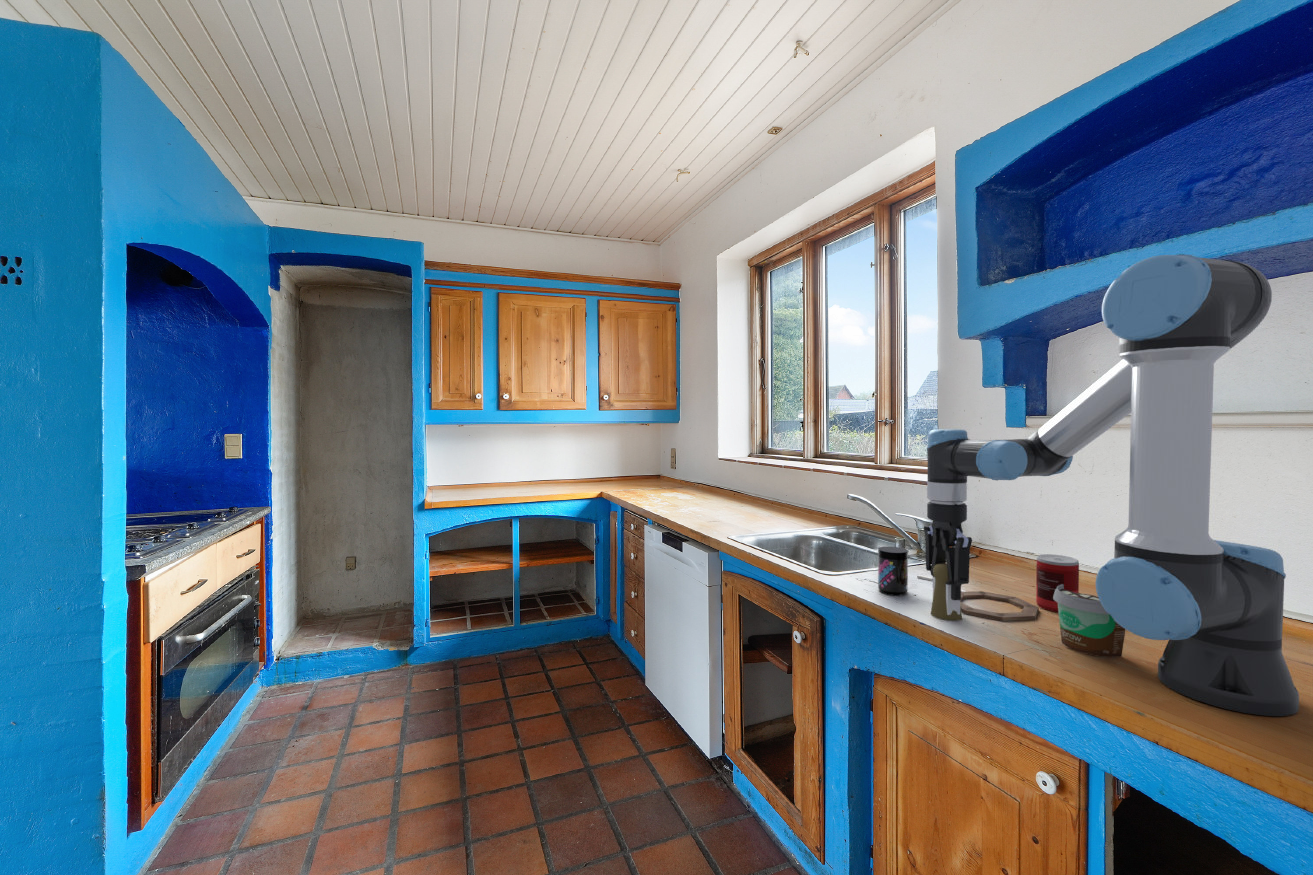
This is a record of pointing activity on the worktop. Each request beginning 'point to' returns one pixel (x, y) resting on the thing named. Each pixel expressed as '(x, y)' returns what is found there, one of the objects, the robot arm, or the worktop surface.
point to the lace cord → (930, 579)
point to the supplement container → (893, 570)
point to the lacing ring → (1026, 614)
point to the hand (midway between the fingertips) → (946, 609)
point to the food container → (1087, 625)
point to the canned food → (1055, 578)
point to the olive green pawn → (942, 595)
